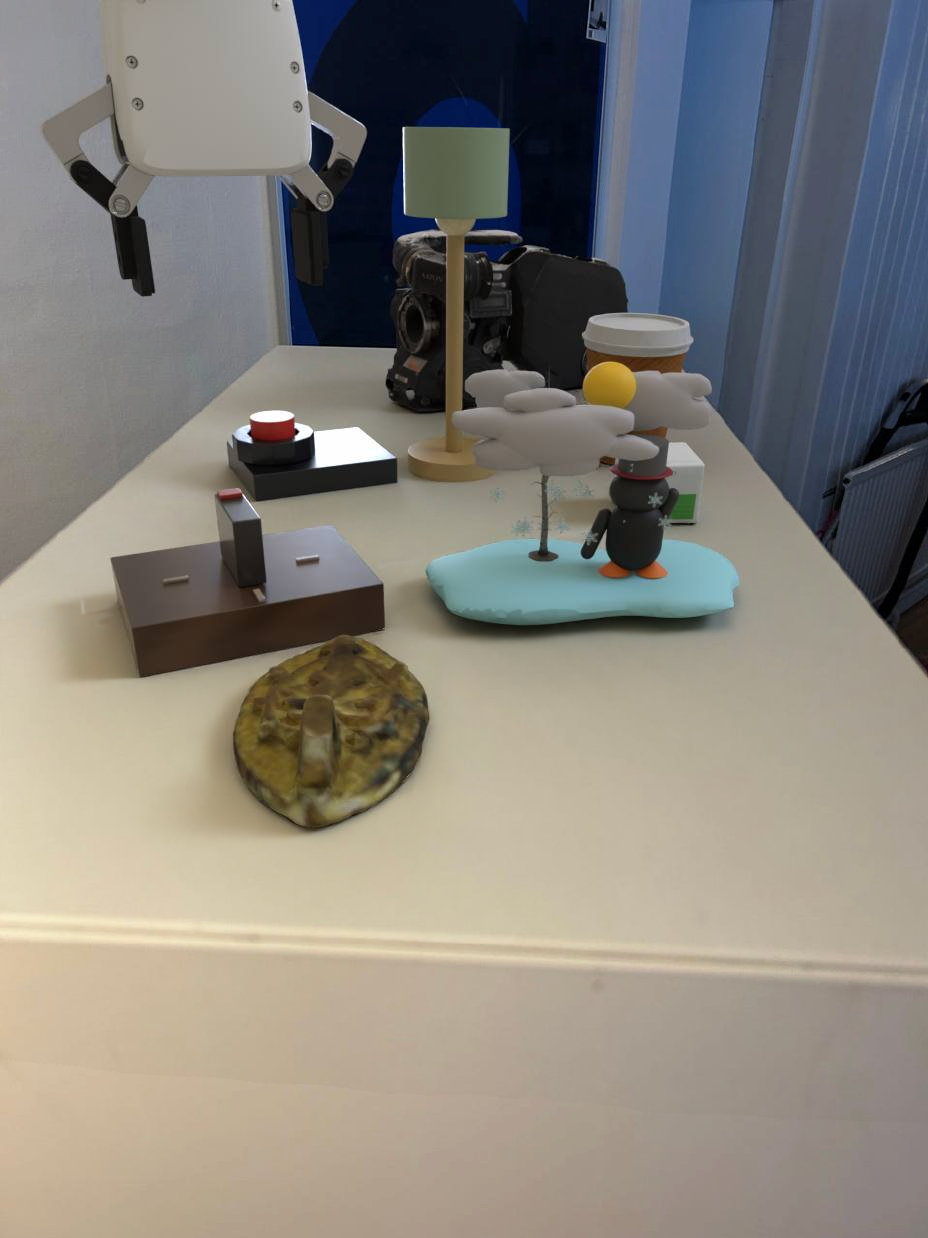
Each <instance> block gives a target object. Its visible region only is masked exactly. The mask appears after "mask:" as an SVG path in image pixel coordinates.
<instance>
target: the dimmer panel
mask: <svg viewBox="0 0 928 1238" xmlns="http://www.w3.org/2000/svg"><path fill="white" fill-rule="evenodd" d="M262 537H263V547H264V558H265V569H266V580H267V582H266V583H264V584H258V585H252V586H246V587H239V586H238V584H237V582H236V580H235V578H234V577H233V575H232V573H231V571H230V569H229V568H228V566H227V564H226V562H225V561H224V559H223V557H222V555H221V548H220V540H219V541H213V542H211V541H210V542H206V543H198V544H193V545H185V546H179V547H171V548H165V549H158V550H152V551H144V552H138V553H130V554H123V555H118V556H111V557H110V558H109V559H110V565H111V571H112V577H113V581H114V587H115V593H116V598H117V603H118V607H119V610H120V614H121V617H122V620H123V624H124V628H125V631H126V634H127V639H128V641H129V645H130V648H131V652H132V655H133V658H134V659H133V660H134V662H135V666H136V669H137V673H138V676H139V678H142V677H147V676H153V675H158V674H164V673H168V672H173V671H177V670H183V669H188V668H193V667H199V666H204V665H208V664H213V663H218V662H223V661H228V660H234V659H239V658H244V657H249V656H254V655H260V654H264V653H270V652H275V651H279V650H285V649H290V648H295V647H300V646H305V645H310V644H315V643H316V644H317V643H321V642H326V641H330V640H332V639H334V638H336V637H338V636H340V635H349V636H356V635H361V634H362V635H363V634H367V633H371V632H370V631H372V632H376V631H375V630H377V631H380V630H379V629H382V630H384V629H383V628H385V629H386V620H385V619H386V618H385V617H386V616H385V614H386V613H385V586H384V585H385V584H384V582H382V580H381V579H380V578H379V577H378V576H377V574H376V573H375V571H373V570H372V569H371V567H370V566H369V565H368V564H367V563H366V562H365V561H364V560H363V559H362V557H361V556H360V555H359V554H358V553H357V552H356V550H355V549H354V548H353V547H352V546H351V545H350V544H349V543H348V542H347V540H346V539H345V538H344V537H343V536H342V535H341V533H340V532H339V531H338V529H336V528H335V526H333V524H326V525H320V526H313V527H312V526H311V527H305V528H299V529H292V530H287V531H280V532H279V531H278V532H273V533H266V534H262Z"/></svg>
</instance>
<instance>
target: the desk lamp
mask: <svg viewBox="0 0 928 1238" xmlns="http://www.w3.org/2000/svg"><path fill="white" fill-rule="evenodd" d="M510 130H511V129H510V128H507V127H506V128H504V127H503V128H502V127H501V128H500V127H499V128H498V127H454V126H453V127H446V126H445V127H443V126H442V127H441V126H439V127H438V126H403V127H402V155H403V156H402V157H403V158H402V160H403V164H402V165H403V214H404V215H405V216H408V217H413V218H422V219H423V218H426V219H434V220H435V223H436V225H437V227H438V229H440V230H441V231H442V232H443V233H445V234H446V235H447V251H446V410H445V436H444V437H433V438H428V439H423V440H420V441H416V442H415V443H413V444H411V445H410V446H409V447H408V449H407V470H408V471H409V472H410V473H411V474H412V475H414V476H416V477H419V478H421V479H425V480H429V481H435V482H442V483H467V482H468V483H469V482H475V481H481V480H485V479H488V478H491V477H493V476H495V475H496V474H497V473H498V472H499V471H493V470H487V469H483V468H480V467H478V466H476V464H475V456H474V455H473V454H472V447H473V445H474V444H476V443H477V442H479V441H481V440H482V439H477V438H470V437H463V432H462V431H459V430H457V429H456V428H455V427H454V426H453V424H452V414H453V413H454V412H457V411H463V407H462V383H463V304H464V252H465V245H464V235H465V234H467V233H468V232H469V231H470V230H473V227H474V226H475V224H476V220H482V219H483V220H484V219H499V218H504V217H505V218H506V217H507V216H508V195H509V193H508V192H509V167H510V166H509V165H510V163H509V161H510V136H511V135H510V132H511V131H510Z"/></svg>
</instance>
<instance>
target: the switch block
mask: <svg viewBox="0 0 928 1238" xmlns="http://www.w3.org/2000/svg"><path fill="white" fill-rule="evenodd" d="M295 434H296V436H294V437H291V438H287V439H279V440H259V439H255V438H251V427H250V424H248V425H245V426H241V427H238V428H237V429H236V430H235V431H233V432H232V434H231V440H228V441H226V450H227V459H228V466H229V468H230V469H231V471H233V473H234V474H235V475H236V477H237V478H238V479H239V481H240V482H241V483H242V485H243V486H244V487H245V489H246V490H247V492H248V493H249V494H250V496H251V497H252V499H253V500H254V501H255V502H257V503H259V502H266V501H272V500H279V499H286V498H287V499H288V498H295V497H302V496H310V495H317V494H324V493H325V494H326V493H332V492H339V491H346V490H347V491H348V490H353V489H361V488H370V487H376V486H383V485H392V484H397V483H398V458H397V457H396V456H395V455H393V454H392V453H391V452H390V451H389V450H387V449H386V448H384V446H382V445H381V444H380V443H378V442H377V441H376V440H375V439H373V438H372V437H371V435H369V434H367V433H366V432H365V431H364V430H362V429H361V428H360V427H358V426H356V427H346V428H337V429H329V430H319V431H315V430H314V429H312V428H311V427H310V425H307V424H301V423H297V422H295Z"/></svg>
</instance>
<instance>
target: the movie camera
mask: <svg viewBox="0 0 928 1238" xmlns="http://www.w3.org/2000/svg"><path fill="white" fill-rule="evenodd" d="M522 243H523V237H522V236H520V235H518V233H516V232H513V231H509V230H501V229H471V230H470V231H469V232H468V233H467V234H465V235H464V246H465V245H467V246H468V245H469V246H470V245H471V246H473V245H474V246H487V247H488V246H489V247H490V246H496V247H497V246H509V245H516V244H522ZM446 251H447V235H446V234H445V233H443V232H442V231H441V230H440V228H437V229H429V230H423V231H422V230H421V231H417V232H414V233H408V234H404V235H401V236H400V237H398V238H397V240H396V241H395V243H394V246H393V250H392V266H393V268H395V270H396V272H397V273H398V276H399V278H397V279H396V280H395V282H396V285H397V286H398V287H399V288H397V289H395V295H394V297H393V298H392V300H391V303H390V307H389V314H390V317H391V319H392V321H393V323H394V325H395V335H396V346H395V349H396V352H395V353H394V354H393V365H392V366H391V367H390V368H389V367H388V369H387V374H386V376H385V387H386V389H387V392H388V398H389V399H390V400H391V401H392V402H394V403H398V405H399V404H400V405H401V406H406V407H408V408H410V409H411V410H413V411H418V412H437V411H446ZM406 285H407V287H408V288H407V287H406V288H401V287H403V286H406ZM626 287H627V285H626V282H625V279H624V277H623V274H622V273H621V271H620V270H619V269H618V268H617V267H615V266H612V265H610V263H608V262H607V261H606V260H604V259H602V258H597V257H592V256H591V258H589V257H583V256H580V255H576V256H575V257H573V258H572V257H570V256H566V255H562V254H559V253H552V252H551V251H550V249H549V248H546V247H542V246H541V247H540V246H537V245H531V244H527V245H523V246H516V247H513V248H512V249H510V250H507V251H506V252H505V253H504V254H502V256H500V257H499V259H497V260H490V257H489V255H488V254H487V252H486V251H478V252H465V251H464V304H463V383H462V408H470V407H473V406H475V407H477V404H476V397H474V398H473V397H472V396H471V394H469V393H468V392H466V391H465V380H467V379H468V378H469V377H470V376H471V375H472V374H475V373H480V372H483V371H490V370H498V369H500V370H505V367H503V364H504V362H508V363H510V364H511V365H512V366H513V368H515V369H516V371H534V372H537V373H539V374H541V375H542V376H543V377H544V380H547V381H548V380H549V385H550V388H557V389H560V390H566V389H571V388H578V387H583V382H584V379H585V377H586V375H587V373H588V366H587V347H586V346H585V344H584V339H583V337H582V333H583V332H585V331H586V328H587V324H588V321H589V318H591V317H593V316H596V315H602V314H611V313H629V310H628V303H629V299H628V295H627V290H626ZM549 368H550V371H549ZM544 370H545V371H544ZM545 372H546V374H545ZM561 378H562V379H561ZM560 380H561V381H560ZM547 381H545V384H546V387H547V388H549V386H548V382H547ZM559 382H560V383H559ZM558 384H559V385H558ZM557 385H558V386H557ZM556 386H557V387H556ZM546 387H545V386H544V387H543V388H546ZM408 391H409V392H410V391H413V393H414V394H413V395H414V396H413V398H412V399H410V398H409V397H408V395H407V392H408Z"/></svg>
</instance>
